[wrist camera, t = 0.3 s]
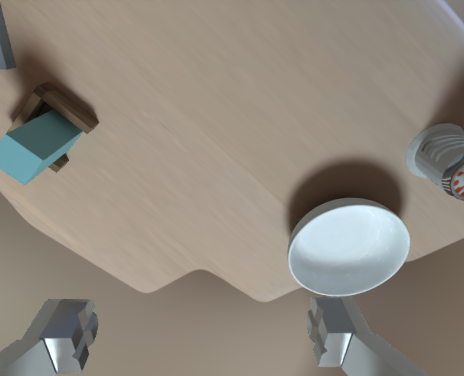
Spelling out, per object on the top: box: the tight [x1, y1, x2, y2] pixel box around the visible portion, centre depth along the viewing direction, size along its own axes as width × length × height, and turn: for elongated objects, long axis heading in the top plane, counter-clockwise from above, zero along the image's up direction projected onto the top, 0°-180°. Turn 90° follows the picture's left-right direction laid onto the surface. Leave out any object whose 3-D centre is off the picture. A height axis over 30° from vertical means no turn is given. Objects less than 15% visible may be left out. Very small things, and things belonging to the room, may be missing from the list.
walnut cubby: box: [7, 82, 99, 173], centre depth 47 cm, size 10×9×3 cm
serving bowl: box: [288, 198, 410, 296], centre depth 55 cm, size 21×21×7 cm
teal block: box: [0, 109, 83, 185], centre depth 43 cm, size 5×5×12 cm
